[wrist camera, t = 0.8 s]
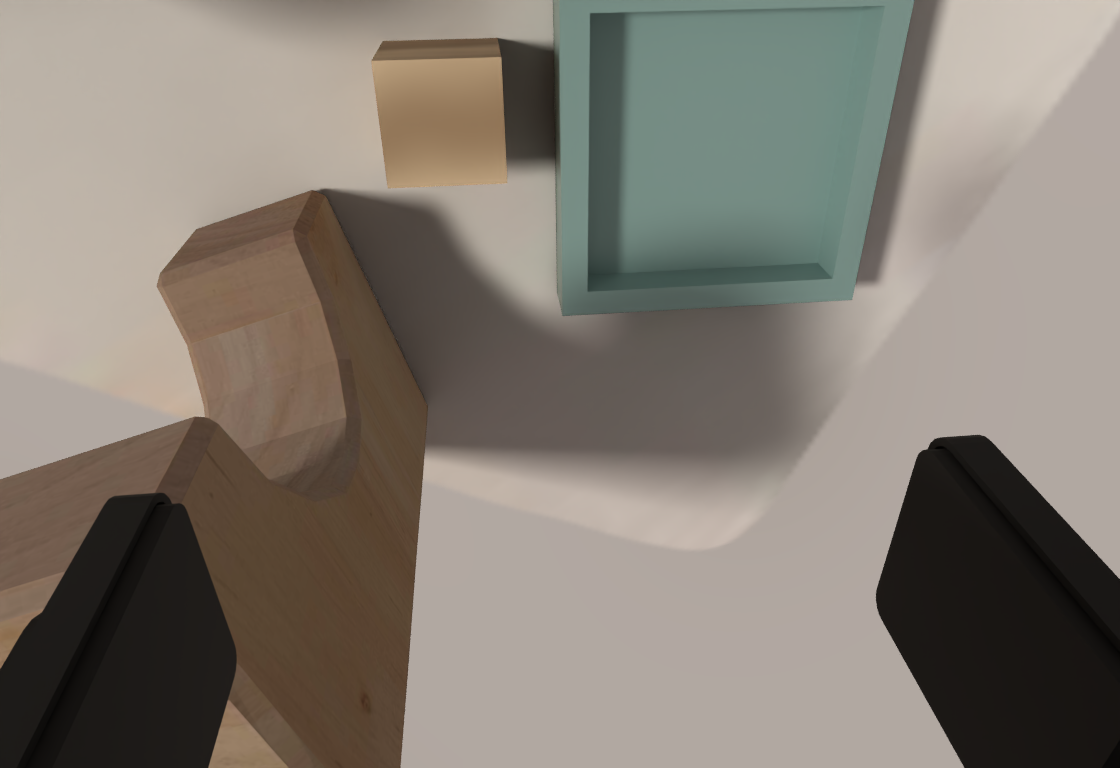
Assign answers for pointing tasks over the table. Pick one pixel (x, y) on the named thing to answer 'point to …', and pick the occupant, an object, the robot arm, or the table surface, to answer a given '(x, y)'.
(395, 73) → the oak cube
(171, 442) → the decorative block
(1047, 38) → the table surface
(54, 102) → the table surface
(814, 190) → the tray
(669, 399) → the table surface
